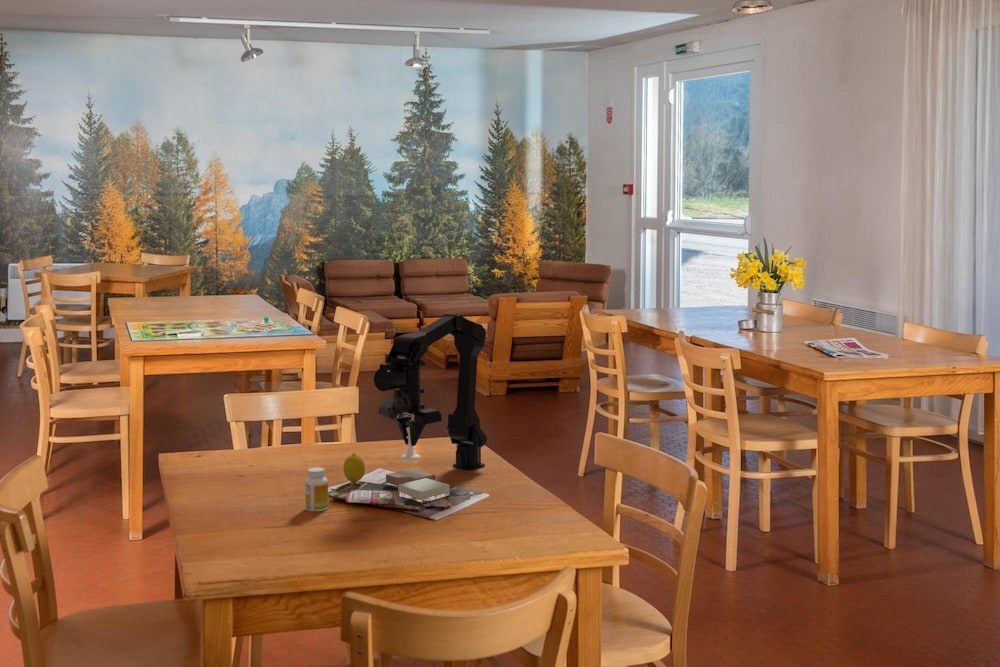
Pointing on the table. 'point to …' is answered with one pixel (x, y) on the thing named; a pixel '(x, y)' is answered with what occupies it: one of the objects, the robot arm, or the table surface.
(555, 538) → the table surface
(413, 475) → the walnut slab
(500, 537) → the table surface
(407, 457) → the chess piece
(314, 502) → the supplement bottle
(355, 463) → the lemon
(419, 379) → the robot arm
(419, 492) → the sage slab
